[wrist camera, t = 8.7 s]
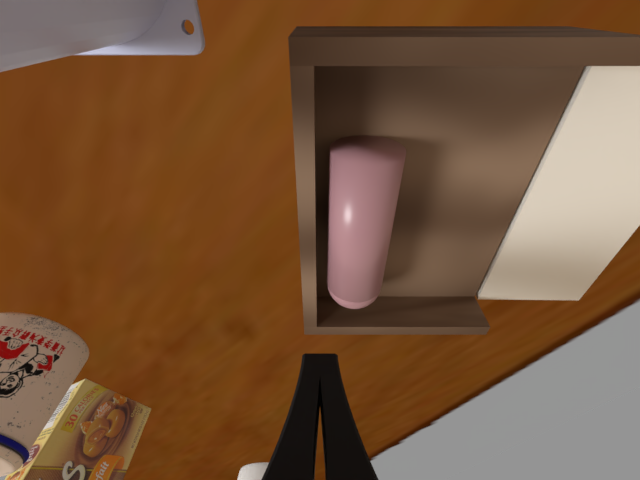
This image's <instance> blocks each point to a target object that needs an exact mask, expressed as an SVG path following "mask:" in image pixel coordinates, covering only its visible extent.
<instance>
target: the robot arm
mask: <svg viewBox="0 0 640 480" xmlns="http://www.w3.org/2000/svg"><path fill="white" fill-rule="evenodd" d="M186 20H189V21H190V22H191V23H192V24H193V26H194V32H193V34H190V33H188V32H187V31H186V29H185V27H184V23H185V21H186ZM204 48H205V38H204V33H203V28H202V23H201V18H200V13H199V8H198V3H197V0H0V72H3V71H7V70H12V69H16V68H20V67H24V66H29V65H33V64H37V63H41V62H45V61H50V60H54V59H58V58H62V57H67V56H71V55H197V54H200V53H201V52H202V51H203V50H204ZM319 412H321V425H322V437H323V450H324V462H325V480H378V477H377V475H376V473H375V471H374V468H373V466H372V464H371V462H370V459H369V457H368V454H367V452H366V450H365V447H364V445H363V442H362V440H361V437H360V434H359V432H358V429H357V426H356V424H355V421H354V418H353V415H352V412H351V409H350V406H349V403H348V400H347V396H346V393H345V389H344V385H343V382H342V378H341V373H340V368H339V362H338V355H337V354H335V353H305V354H303V355H302V362H301V368H300V373H299V377H298V382H297V385H296V389H295V393H294V396H293V399H292V402H291V406H290V409H289V412H288V415H287V418H286V421H285V423H284V426H283V429H282V431H281V434H280V437H279V440H278V442H277V445H276V447H275V450H274V452H273V454H272V457H271V459H270V461H269V464H268V466H267V468H266V471H265V473H264V475H263V477H262V479H261V480H315V462H316V450H317V437H318V425H319Z"/></svg>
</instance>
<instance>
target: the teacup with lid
mask: <svg viewBox="0 0 640 480" xmlns="http://www.w3.org/2000/svg"><path fill="white" fill-rule="evenodd" d="M88 357H89V349H88V346H87V344H86V343H85V342H84V340H83V339H82V338H81V337H80V336H79V335H77V334H76V333H75V332H73V331H72V330H70V329H69V328H67V327H65V326H63V325H61V324H59V323H57V322H55V321H52V320H49V319H47V318H43V317H40V316H36V315H32V314H26V313H19V312H2V313H0V477H1V476H6V475H9V474H11V473H13V472H15V471H16V470H18V469H19V468H20V467H21V466H22V464H24V463H25V462H26V461H27V460H28V458H29V450H30V449H31V447H32V446H33V444H34V443H35V441H36V439H37V438H38V436H39V435H40V433H41V432H42V430H43V428H44V427H45V425H46V424H47V422H48V421H49V419H50V418H51V416H52V414H53V413H54V411H55V410H56V408H57V407H58V405H59V404H60V402H61V400H62V399H63V397H64V396H65V394H66V393H67V391H68V389H69V388H70V386H71V385H72V383H73V382H74V380H75V379H76V377H77V375H78V374H79V372H80V371H81V369H82V368H83V366H84V364H85V363H86V361H87V360H88Z"/></svg>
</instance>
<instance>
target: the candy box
mask: <svg viewBox="0 0 640 480" xmlns="http://www.w3.org/2000/svg"><path fill="white" fill-rule="evenodd" d="M150 411H151V408H149V407H147V406H145V405H143V404H141V403H138V402H136V401H133V400H131V399H129V398H127V397H125V396H122V395H120V394H118V393H116V392H113V391H111V390H109V389H107V388H105V387H103V386H101V385H99V384H97V383H94V382H92V381H90V380H88V379H83V380H81V381H79V382H76V383H74V384H72V385H71V386H70V388H69V389H68V391H67V393H66V394H65V396H64V397H63V399H62V400H61V402H60V404H59V405H58V407H57V408H56V410H55V411H54V413H53V414H52V416H51V418H50V419H49V421H48V422H47V424H46V425H45V427H44V428H43V430H42V432H41V433H40V435H39V436H38V438H37V439H36V441H35V443H34V444H33V446H32V447H31V449H30V450H29V458H28V460H27V461H26V462H25V463H24V464H22V466H21V467H20V468H19V469H18V470H16V471H15V472H13V473H11V474H9V475H7V476H6V478H5V480H123V479H124V476H125V474H126V471H127V469H128V466H129V464H130V461H131V459H132V457H133V454H134V451H135V449H136V447H137V444H138V442H139V439H140V436H141V434H142V432H143V429H144V426H145V424H146V421H147V419H148V416H149V414H150Z"/></svg>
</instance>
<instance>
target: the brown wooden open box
mask: <svg viewBox="0 0 640 480" xmlns="http://www.w3.org/2000/svg"><path fill="white" fill-rule="evenodd" d="M288 43H289V61H290V80H291V98H292V116H293V135H294V153H295V171H296V190H297V208H298V226H299V244H300V263H301V281H302V299H303V318H304V335H486V334H487V332H488V330H489V329H490V325H489V323H488V321H487V320H486V318H485V316H484V314H483V312H482V310H481V308H480V306H479V304H478V302H477V300H476V298H475V295H476V292H477V290H478V288H479V286H480V284H481V282H482V280H483V278H484V276H485V274H486V272H487V269H488V267H489V265H490V263H491V261H492V259H493V257H494V255H495V253H496V251H497V248H498V246H499V244H500V242H501V240H502V238H503V236H504V234H505V232H506V230H507V228H508V225H509V223H510V221H511V219H512V217H513V215H514V213H515V211H516V209H517V207H518V204H519V202H520V200H521V198H522V196H523V194H524V192H525V190H526V188H527V186H528V184H529V181H530V179H531V177H532V175H533V173H534V171H535V169H536V167H537V165H538V163H539V160H540V158H541V156H542V154H543V152H544V150H545V148H546V146H547V144H548V142H549V140H550V137H551V135H552V133H553V131H554V129H555V127H556V125H557V123H558V121H559V119H560V116H561V114H562V112H563V110H564V108H565V106H566V104H567V102H568V100H569V98H570V96H571V93H572V91H573V89H574V87H575V85H576V83H577V81H578V79H579V77H580V75H581V72H582V70H583V68H584V66H640V35H636V34H628V33H620V32H611V31H603V30H595V29H586V28H578V27H570V26H297V27H296V28H295V29H294V30H293V32H292V33H291V34H290V36H289V37H288ZM356 135H370V136H379V137H384V138H388V139H391V140H394V141H396V142H398V143H400V144H401V145H403V146H404V147H405V149H406V157H405V163H404V168H403V173H402V179H401V184H400V190H399V195H398V200H397V206H396V211H395V217H394V222H393V228H392V233H391V238H390V244H389V249H388V255H387V260H386V265H385V271H384V276H383V282H382V287H381V290H380V293H379V295H378V297H377V298H376V299H375V301H374V302H373V303H371V304H370V305H368V306H366V307H364V308H360V309H350V308H346V307H343V306H341V305H340V304H338V303H337V302H336V301H335V300H334V299H333V298H332V296H331V295H330V293H329V290H328V287H327V244H328V194H329V148H330V145H331V144H332V143H333V142H334V141H336V140H338V139H341V138H344V137H348V136H356Z"/></svg>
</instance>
